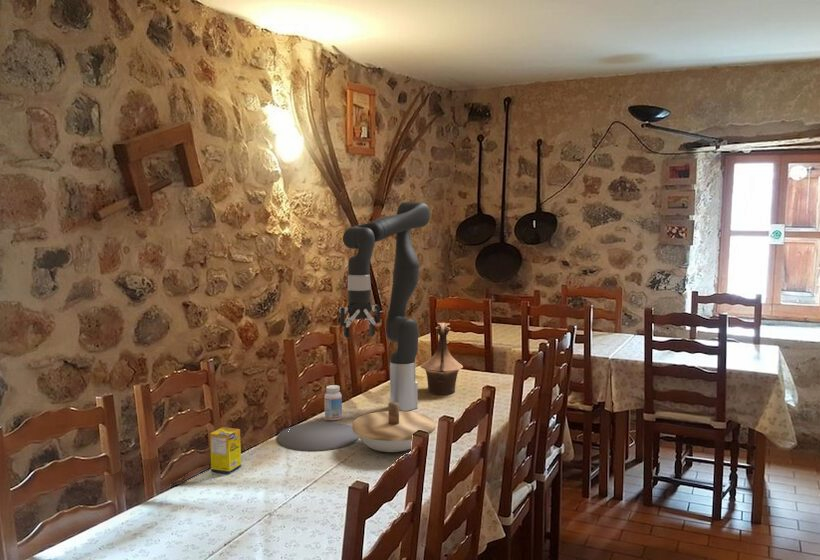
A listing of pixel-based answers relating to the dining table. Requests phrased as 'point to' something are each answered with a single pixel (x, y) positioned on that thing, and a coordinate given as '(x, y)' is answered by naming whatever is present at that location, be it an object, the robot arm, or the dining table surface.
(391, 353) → the robot arm
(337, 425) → the disc
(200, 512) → the dining table surface
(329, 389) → the pill bottle
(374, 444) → the soup bowl
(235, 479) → the dining table surface
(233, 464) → the supplement box
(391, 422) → the lid
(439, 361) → the pot with conical top
